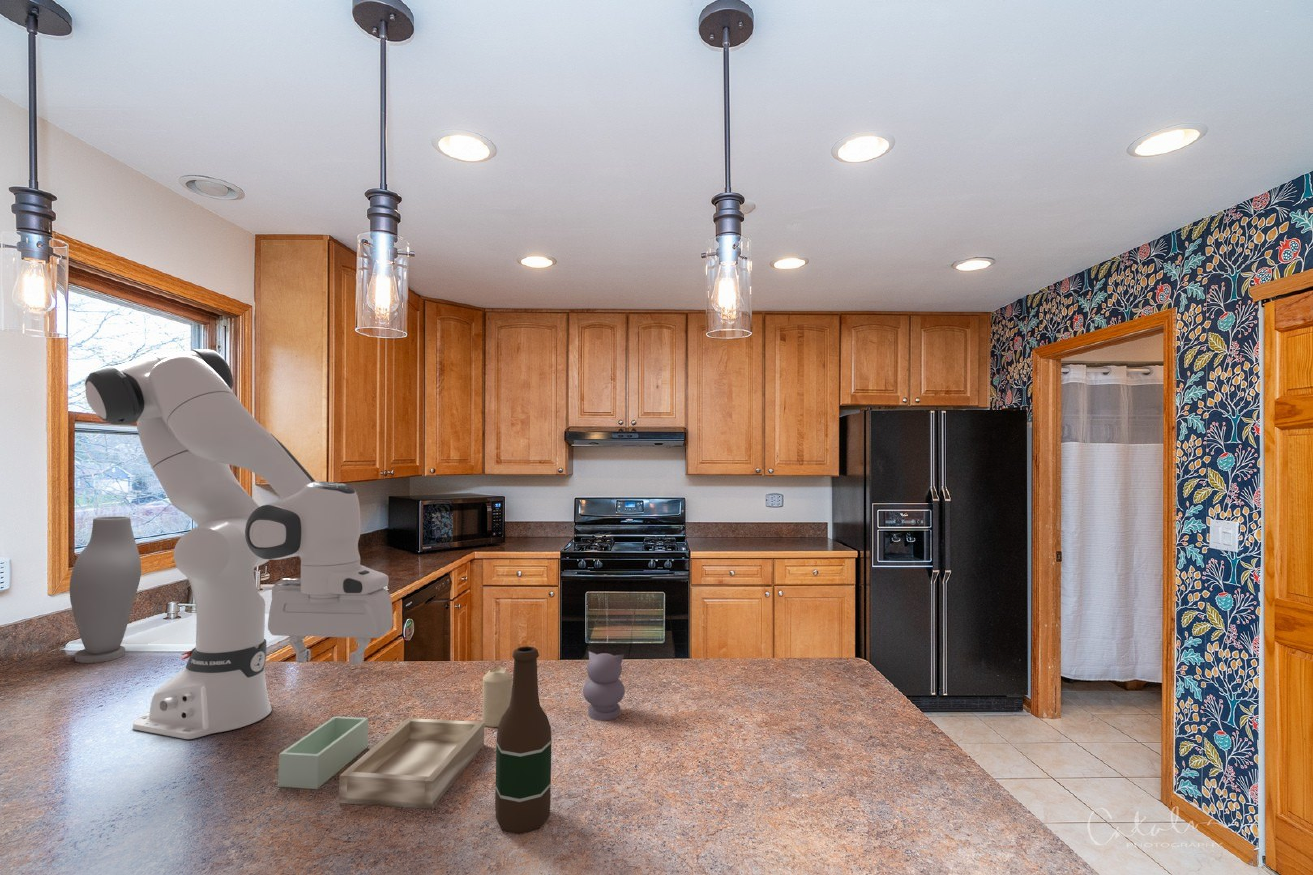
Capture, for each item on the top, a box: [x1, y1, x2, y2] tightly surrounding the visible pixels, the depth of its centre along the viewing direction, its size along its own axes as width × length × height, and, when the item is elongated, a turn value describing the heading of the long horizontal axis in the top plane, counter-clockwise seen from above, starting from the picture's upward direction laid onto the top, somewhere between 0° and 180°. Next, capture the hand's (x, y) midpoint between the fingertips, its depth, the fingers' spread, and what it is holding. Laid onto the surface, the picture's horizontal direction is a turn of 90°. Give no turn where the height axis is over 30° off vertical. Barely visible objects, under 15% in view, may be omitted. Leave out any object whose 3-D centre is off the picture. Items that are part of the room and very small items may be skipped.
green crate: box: [277, 715, 369, 790], centre depth 103 cm, size 6×14×5 cm, turn 175°
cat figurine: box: [582, 650, 626, 722], centre depth 125 cm, size 8×8×12 cm
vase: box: [68, 515, 142, 664], centre depth 156 cm, size 13×13×35 cm
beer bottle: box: [494, 645, 552, 835], centre depth 89 cm, size 8×8×24 cm
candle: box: [481, 667, 513, 728], centre depth 121 cm, size 6×6×10 cm
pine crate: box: [338, 717, 485, 810], centre depth 101 cm, size 14×20×4 cm
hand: (329, 662), depth 103 cm, fingers open, 8 cm apart
